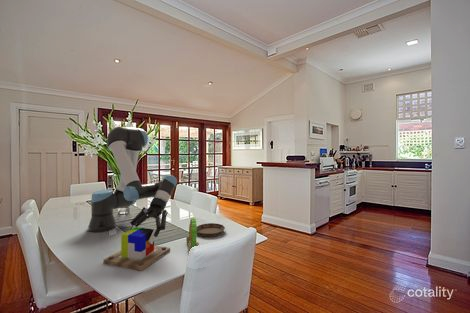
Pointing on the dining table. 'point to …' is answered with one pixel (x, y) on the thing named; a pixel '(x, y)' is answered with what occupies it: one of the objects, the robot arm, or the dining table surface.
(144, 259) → the base plate
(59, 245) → the dining table surface
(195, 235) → the green upright piece
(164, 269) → the dining table surface
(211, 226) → the plant saucer
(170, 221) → the dining table surface
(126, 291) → the dining table surface
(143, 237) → the puzzle toy
